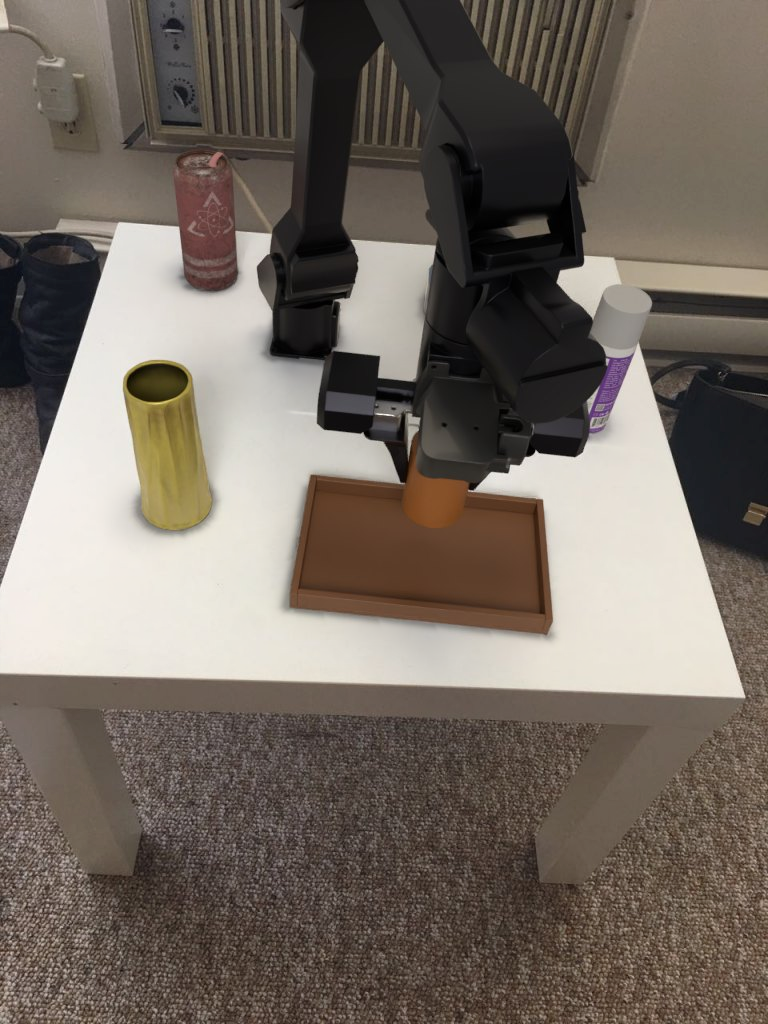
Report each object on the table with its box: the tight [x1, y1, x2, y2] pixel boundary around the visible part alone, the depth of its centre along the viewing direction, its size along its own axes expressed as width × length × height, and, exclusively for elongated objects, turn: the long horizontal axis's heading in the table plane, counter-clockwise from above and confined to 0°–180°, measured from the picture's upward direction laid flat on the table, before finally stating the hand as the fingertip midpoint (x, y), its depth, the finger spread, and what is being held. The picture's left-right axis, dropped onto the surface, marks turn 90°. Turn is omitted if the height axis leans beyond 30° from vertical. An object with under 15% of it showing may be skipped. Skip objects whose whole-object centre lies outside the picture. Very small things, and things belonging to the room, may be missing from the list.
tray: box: [289, 474, 554, 635], centre depth 71 cm, size 21×13×2 cm, turn 86°
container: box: [587, 283, 653, 436], centre depth 79 cm, size 5×5×15 cm
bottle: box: [402, 429, 470, 528], centre depth 63 cm, size 5×5×10 cm
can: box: [172, 149, 239, 292], centre depth 91 cm, size 6×6×14 cm
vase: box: [122, 359, 213, 531], centre depth 68 cm, size 6×6×14 cm
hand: (436, 482), depth 64 cm, fingers closed on bottle, 5 cm apart
